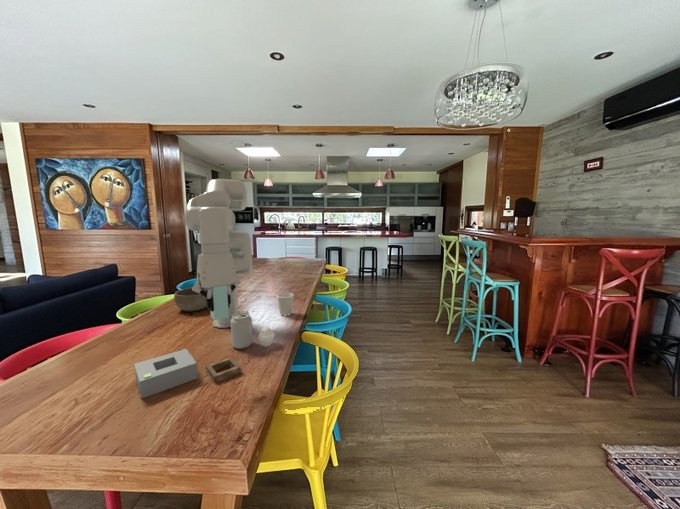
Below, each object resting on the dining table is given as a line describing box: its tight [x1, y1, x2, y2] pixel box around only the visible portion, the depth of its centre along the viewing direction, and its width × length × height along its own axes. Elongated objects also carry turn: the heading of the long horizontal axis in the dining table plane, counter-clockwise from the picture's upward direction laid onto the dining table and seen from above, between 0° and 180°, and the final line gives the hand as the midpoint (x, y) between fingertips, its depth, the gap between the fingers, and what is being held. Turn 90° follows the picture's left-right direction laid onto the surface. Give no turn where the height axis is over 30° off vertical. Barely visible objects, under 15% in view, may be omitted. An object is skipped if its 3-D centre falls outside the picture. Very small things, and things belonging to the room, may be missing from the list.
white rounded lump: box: [257, 327, 275, 347], centre depth 104 cm, size 6×6×7 cm
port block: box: [133, 348, 199, 400], centre depth 82 cm, size 14×12×5 cm
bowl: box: [173, 286, 207, 313], centre depth 144 cm, size 17×18×10 cm
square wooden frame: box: [205, 357, 242, 384], centre depth 86 cm, size 8×8×2 cm
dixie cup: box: [276, 292, 294, 316], centre depth 136 cm, size 8×8×10 cm
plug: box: [209, 285, 229, 321], centre depth 82 cm, size 4×4×11 cm
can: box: [230, 313, 254, 350], centre depth 103 cm, size 8×8×12 cm
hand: (219, 307), depth 83 cm, fingers closed on plug, 4 cm apart
